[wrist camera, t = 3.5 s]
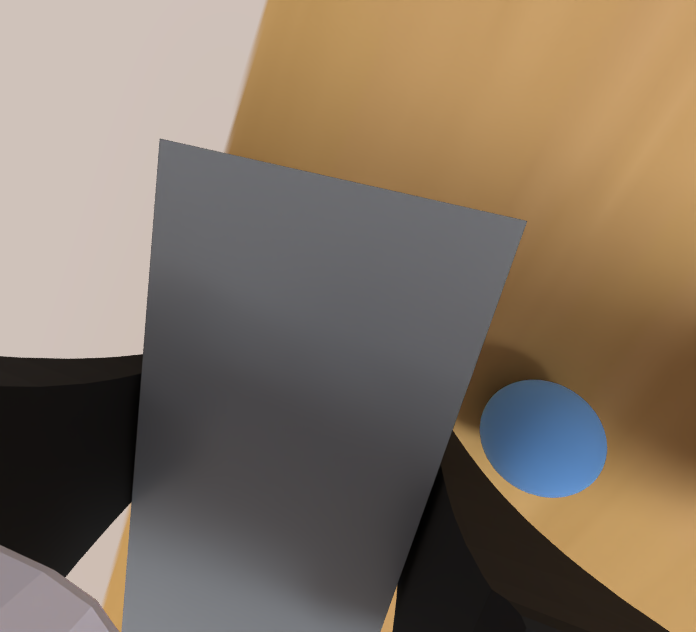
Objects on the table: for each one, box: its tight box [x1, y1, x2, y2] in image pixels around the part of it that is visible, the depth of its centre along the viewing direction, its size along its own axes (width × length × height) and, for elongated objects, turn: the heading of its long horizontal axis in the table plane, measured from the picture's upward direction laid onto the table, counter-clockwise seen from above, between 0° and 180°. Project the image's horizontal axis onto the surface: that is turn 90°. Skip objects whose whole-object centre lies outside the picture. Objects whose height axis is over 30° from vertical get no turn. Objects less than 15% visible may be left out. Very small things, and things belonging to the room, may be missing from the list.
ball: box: [480, 380, 607, 498], centre depth 16 cm, size 5×5×5 cm
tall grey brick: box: [122, 139, 527, 632], centre depth 10 cm, size 6×13×6 cm, turn 166°
